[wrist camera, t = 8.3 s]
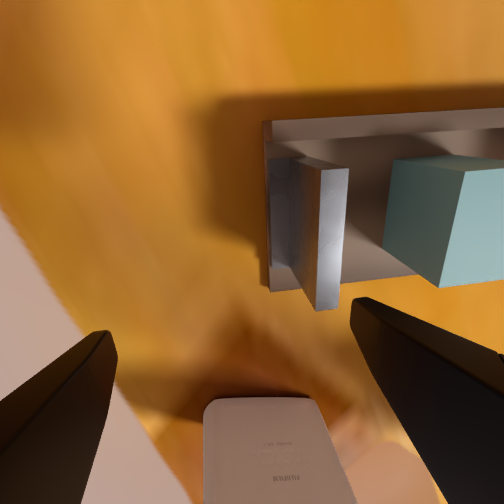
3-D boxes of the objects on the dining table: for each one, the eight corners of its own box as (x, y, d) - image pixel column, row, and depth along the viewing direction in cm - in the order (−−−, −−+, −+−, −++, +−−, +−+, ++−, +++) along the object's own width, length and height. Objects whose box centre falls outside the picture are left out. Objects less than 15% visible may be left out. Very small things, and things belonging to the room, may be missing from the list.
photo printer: (321, 392, 26) (407, 592, 15) (309, 426, 28) (379, 629, 17) (206, 391, 24) (205, 621, 13) (200, 427, 26) (196, 659, 15)
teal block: (434, 242, 21) (506, 279, 16) (381, 248, 20) (438, 287, 15) (452, 154, 18) (544, 164, 13) (393, 159, 18) (465, 171, 13)
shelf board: (559, 253, 24) (667, 292, 18) (268, 287, 21) (290, 345, 16) (620, 101, 19) (787, 91, 14) (263, 121, 17) (290, 119, 11)
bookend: (305, 263, 20) (338, 308, 15) (271, 267, 20) (292, 314, 15) (308, 156, 17) (349, 168, 12) (267, 159, 17) (293, 172, 12)
